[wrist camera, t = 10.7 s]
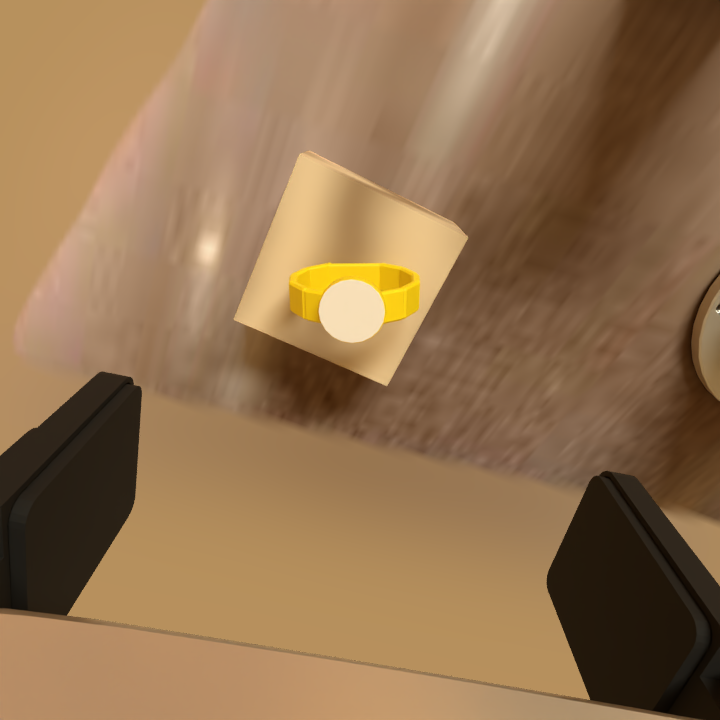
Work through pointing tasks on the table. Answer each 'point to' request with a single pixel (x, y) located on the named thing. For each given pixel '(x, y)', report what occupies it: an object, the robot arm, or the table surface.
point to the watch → (354, 297)
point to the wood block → (346, 259)
